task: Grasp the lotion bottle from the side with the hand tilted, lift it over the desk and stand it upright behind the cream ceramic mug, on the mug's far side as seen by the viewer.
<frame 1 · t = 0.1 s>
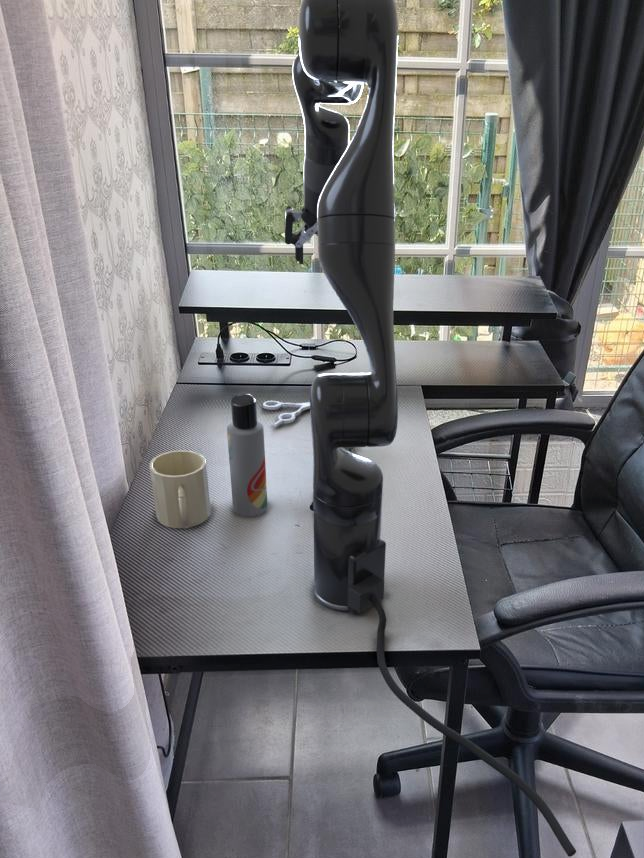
hand: (324, 261, 145), 31 cm above the table, tool tilted 20°, fingers open, 8 cm apart
scissors: (309, 408, 165), on the table
mug: (183, 513, 130), on the table
lotion bottle: (250, 508, 132), on the table
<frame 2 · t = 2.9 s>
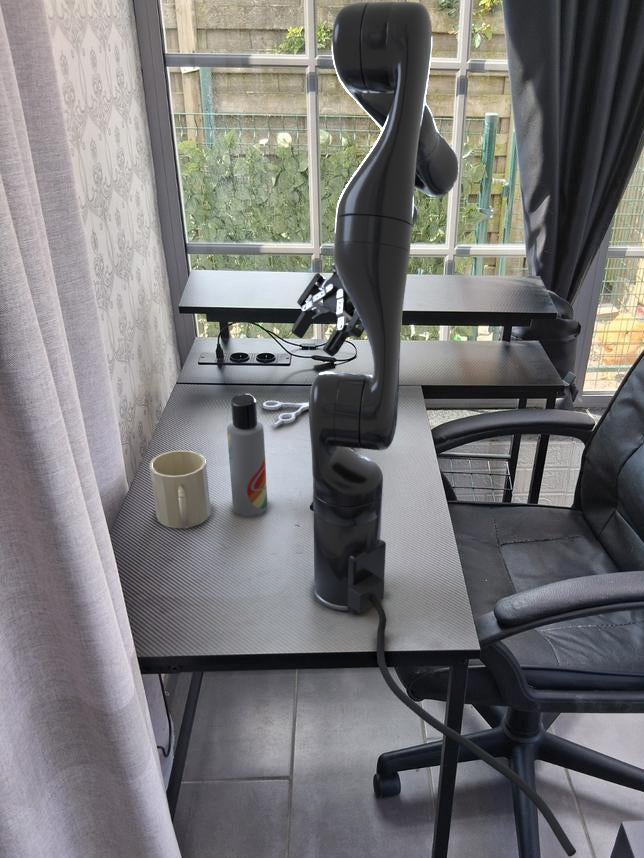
hand: (311, 344, 125), 26 cm above the table, tool tilted 40°, fingers open, 8 cm apart
nothing on the table moved.
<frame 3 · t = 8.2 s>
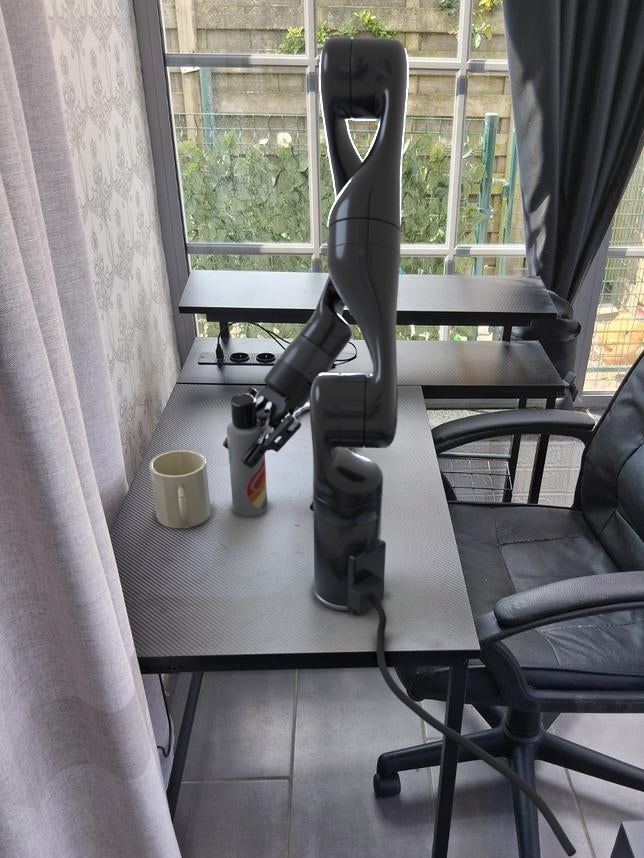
hand: (237, 456, 126), 10 cm above the table, tool tilted 45°, fingers closed on lotion bottle, 5 cm apart
lotion bottle: (250, 508, 132), on the table, touching gripper
everything else where it was.
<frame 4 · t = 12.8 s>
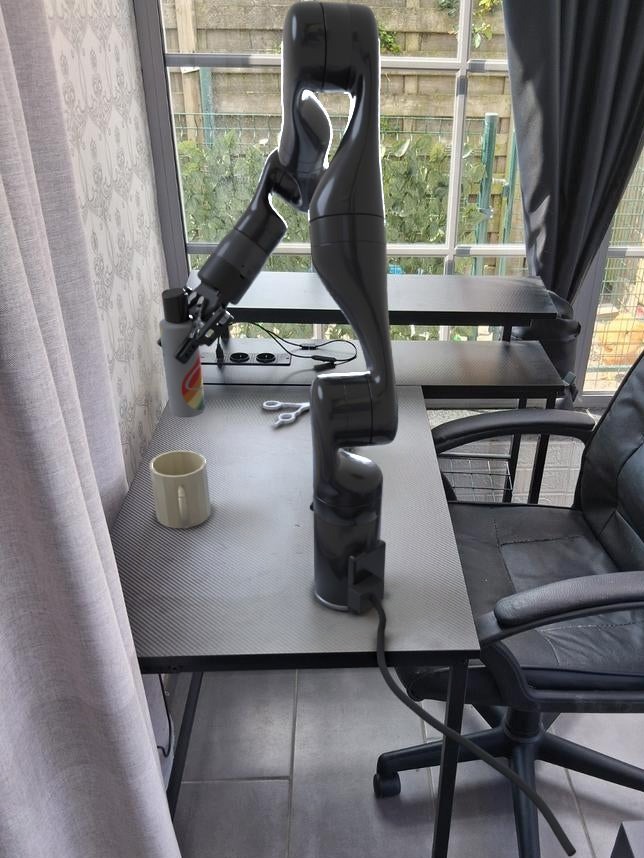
hand: (170, 353, 124), 24 cm above the table, tool tilted 45°, fingers closed on lotion bottle, 5 cm apart
lotion bottle: (187, 411, 131), point 14 cm above the table, touching gripper
everything else where it was.
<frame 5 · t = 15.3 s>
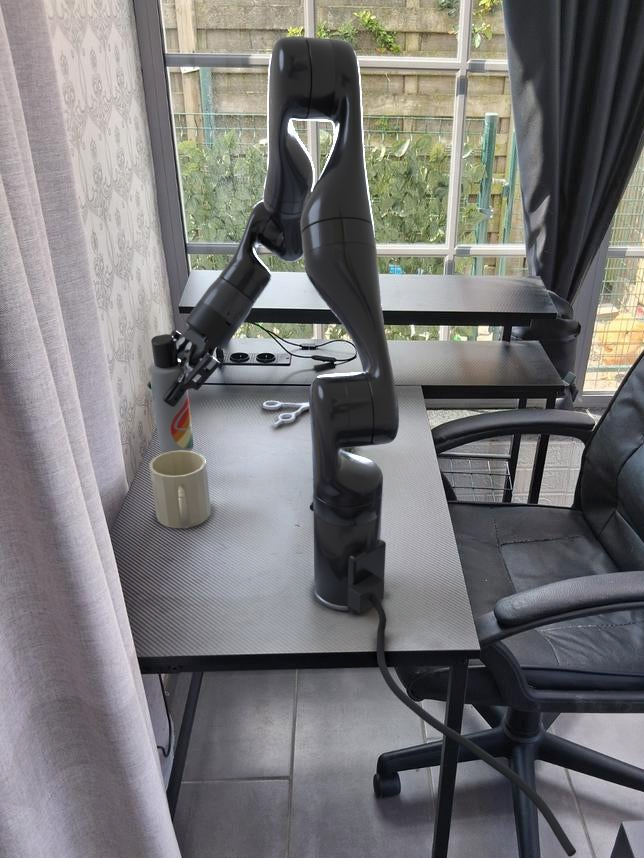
hand: (160, 396, 130), 16 cm above the table, tool tilted 45°, fingers closed on lotion bottle, 5 cm apart
lotion bottle: (177, 449, 137), point 6 cm above the table, touching gripper
everything else where it was.
when the fingers open (10 cm above the table, at t = 17.5 s): lotion bottle stays where it is, on the table.
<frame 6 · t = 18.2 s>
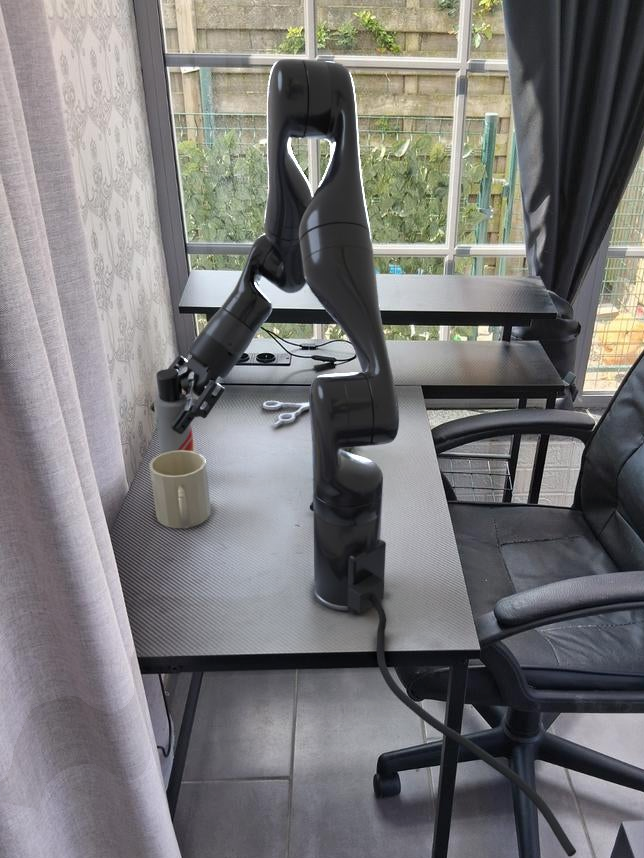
hand: (164, 421, 133), 11 cm above the table, tool tilted 45°, fingers open, 8 cm apart
lotion bottle: (180, 479, 140), on the table
everything else where it was.
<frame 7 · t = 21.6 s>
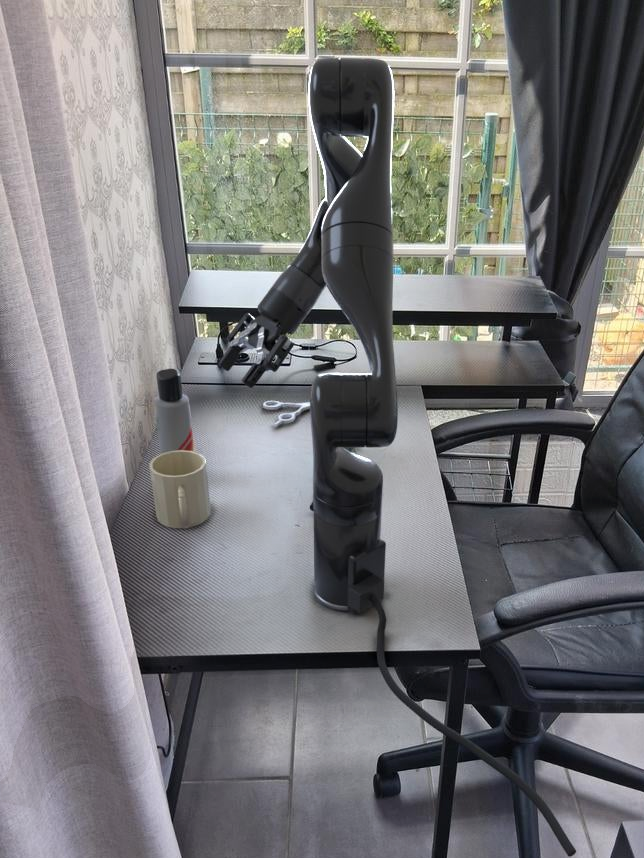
hand: (234, 376, 136), 17 cm above the table, tool tilted 45°, fingers open, 8 cm apart
nothing on the table moved.
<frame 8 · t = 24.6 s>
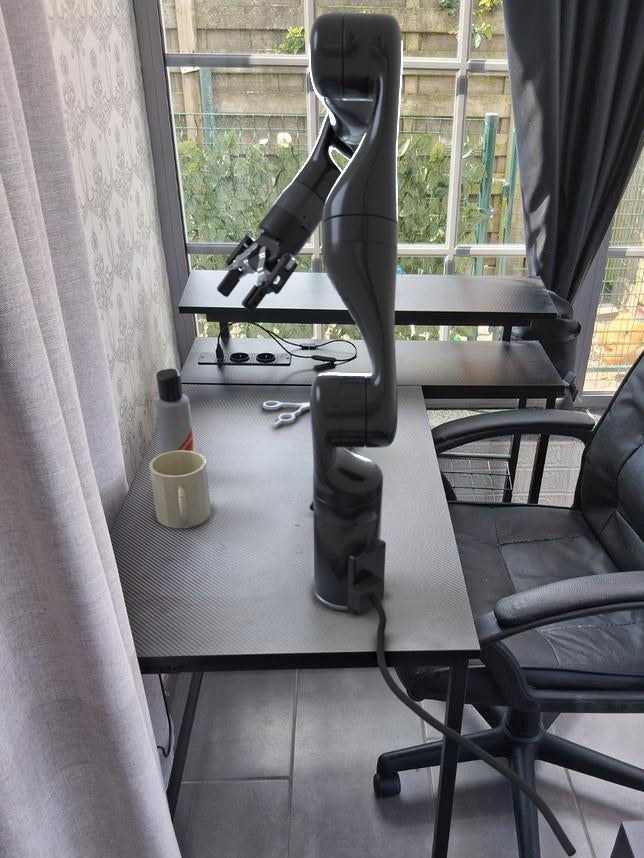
hand: (233, 301, 127), 31 cm above the table, tool tilted 45°, fingers open, 8 cm apart
nothing on the table moved.
at the end: lotion bottle inside the target area on the table beside the mug (0.2 cm from its centre), on the table; lotion bottle tilted 0°; the gripper is holding nothing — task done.
